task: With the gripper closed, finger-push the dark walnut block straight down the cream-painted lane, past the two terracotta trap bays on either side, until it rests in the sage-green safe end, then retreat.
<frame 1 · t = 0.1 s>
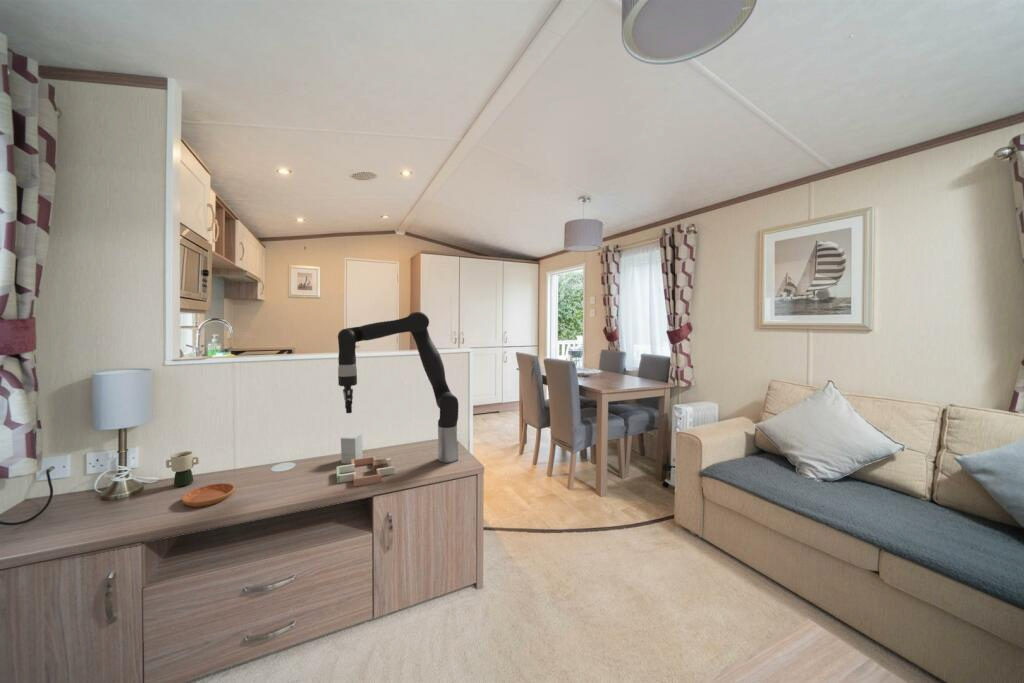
hand: (348, 410, 169), 29 cm above the table, fingers open, 8 cm apart
character mug: (183, 484, 160), on the table
corral: (366, 473, 173), on the table
supplement box: (352, 461, 187), on the table
saucer: (209, 499, 148), on the table
walnut block: (380, 471, 175), on the table
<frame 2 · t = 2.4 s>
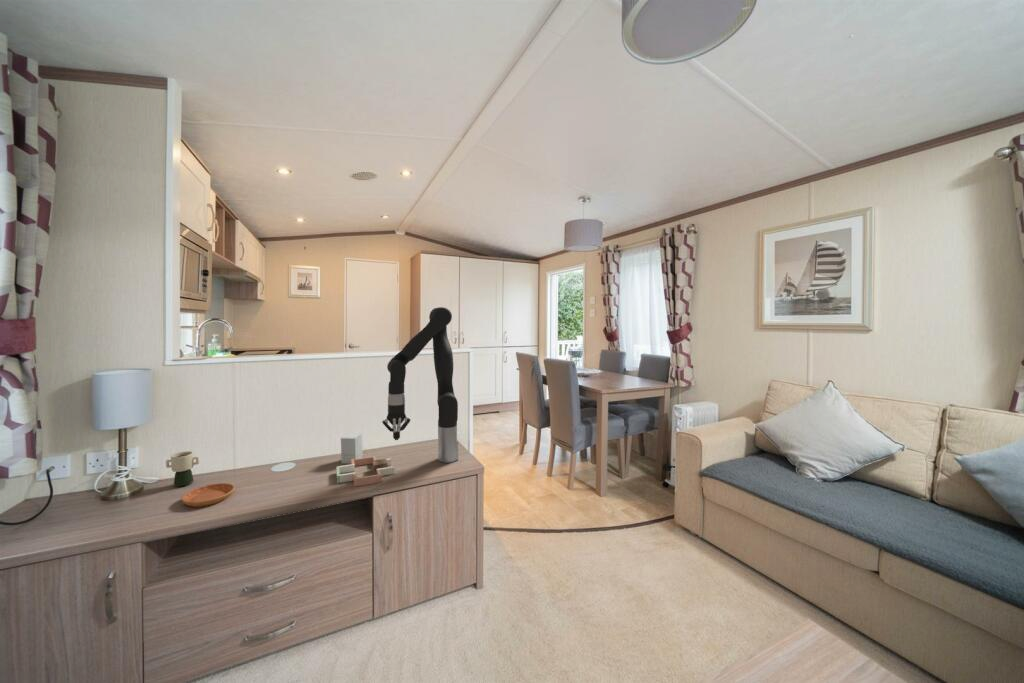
hand: (396, 439, 178), 14 cm above the table, fingers closed
nothing on the table moved.
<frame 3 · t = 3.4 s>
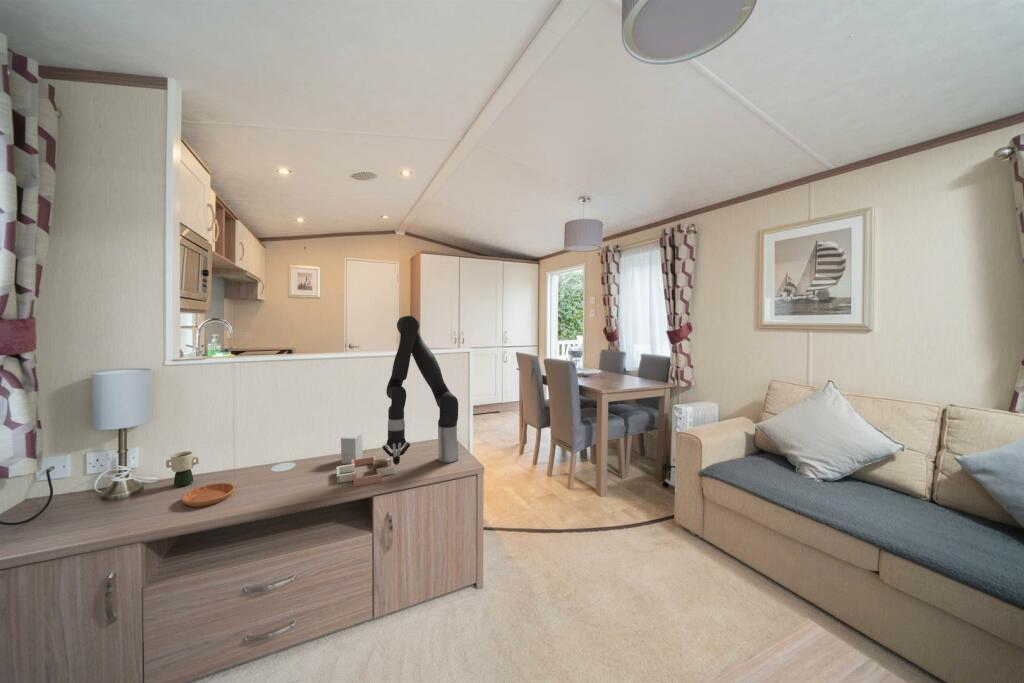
hand: (396, 464, 178), 2 cm above the table, fingers closed
nothing on the table moved.
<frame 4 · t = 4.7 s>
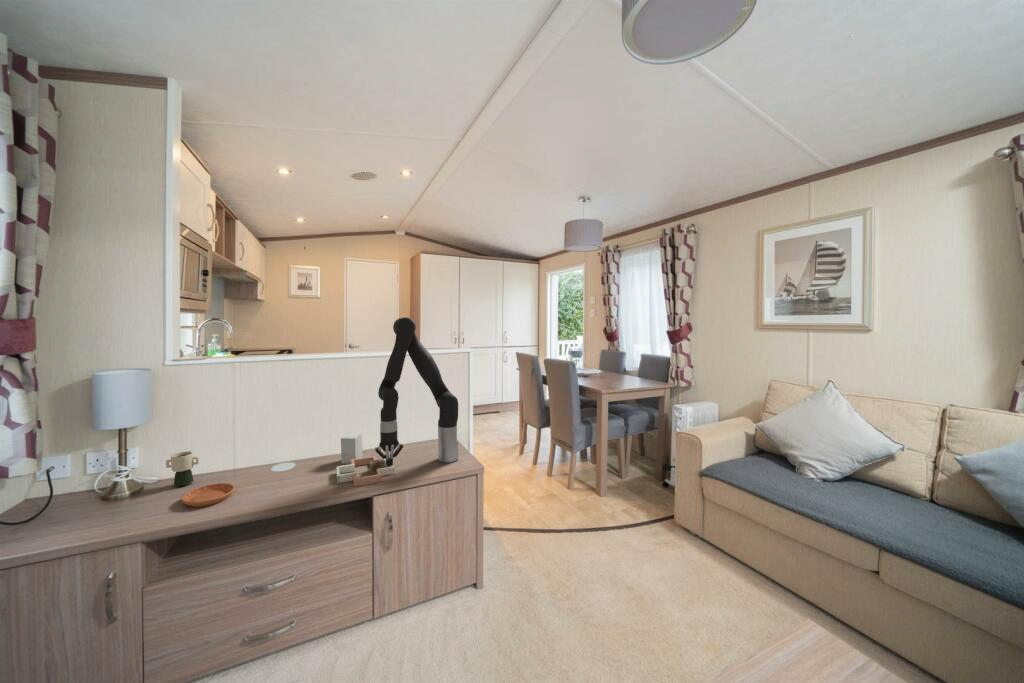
hand: (389, 466, 177), 2 cm above the table, fingers closed
walnut block: (377, 471, 175), on the table
everything else where it was.
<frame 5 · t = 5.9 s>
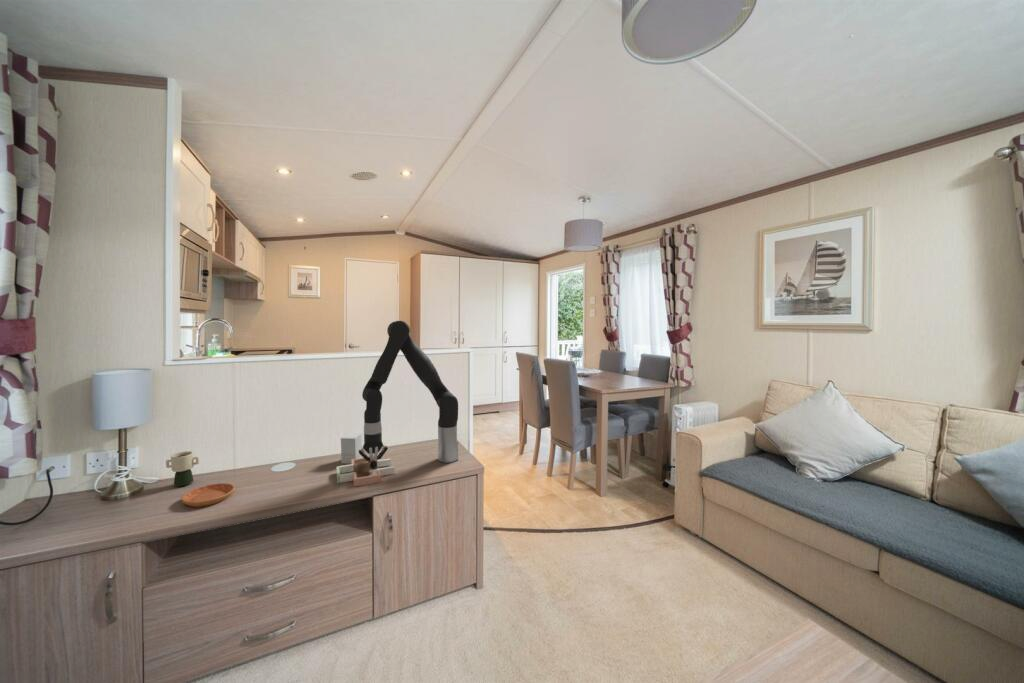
hand: (373, 468, 174), 2 cm above the table, fingers closed
walnut block: (361, 474, 172), on the table, touching gripper
everything else where it was.
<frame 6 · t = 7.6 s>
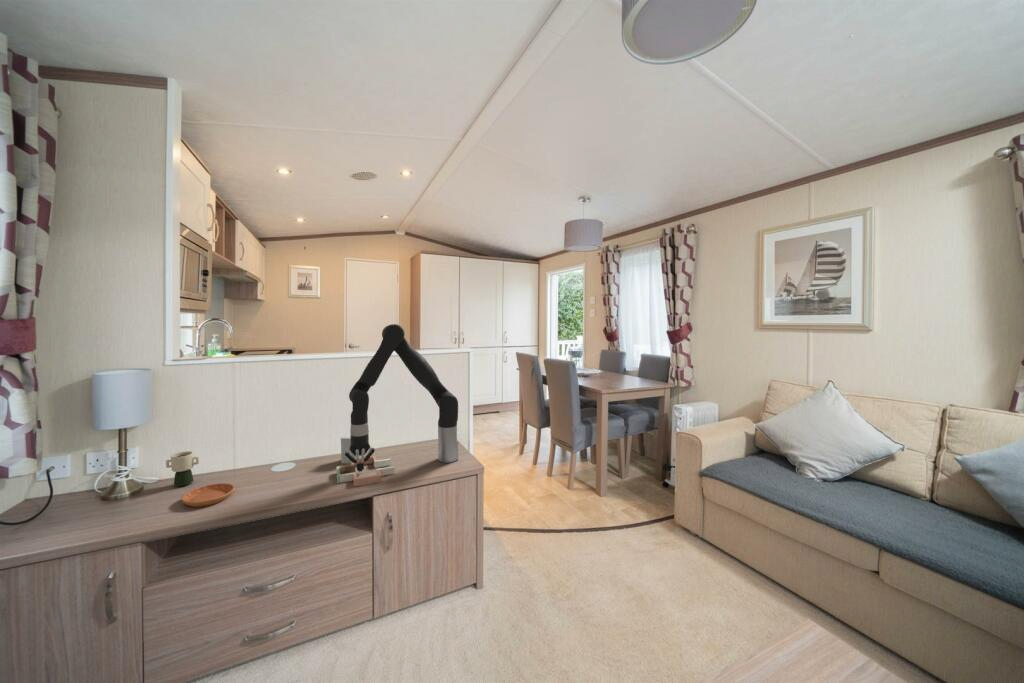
hand: (360, 470, 172), 2 cm above the table, fingers closed
walnut block: (347, 476, 169), on the table
everything else where it was.
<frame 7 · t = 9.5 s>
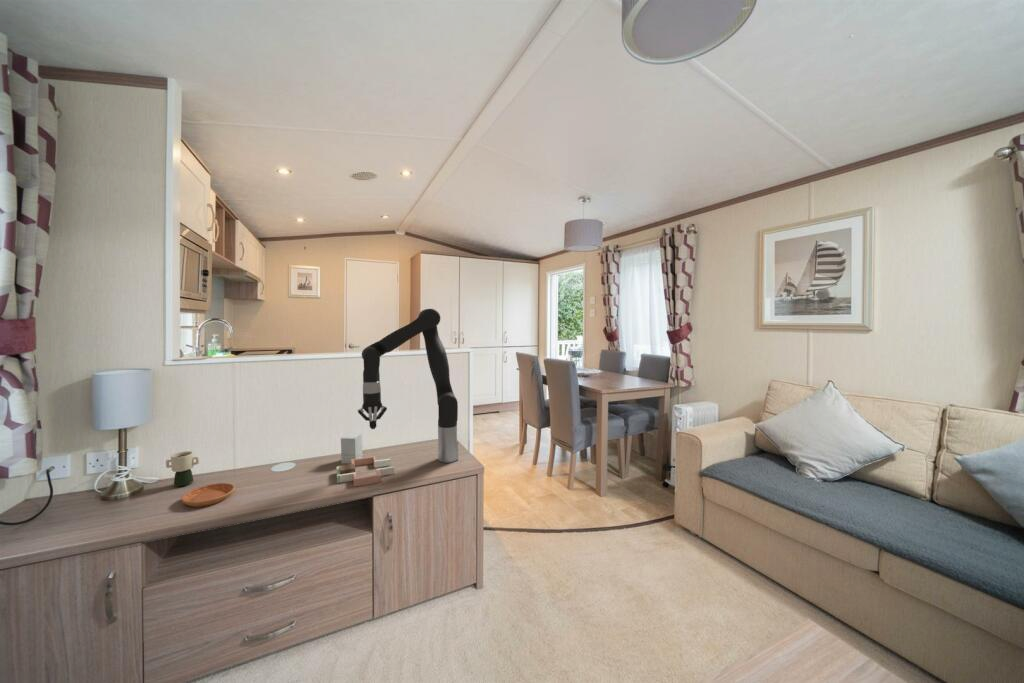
hand: (373, 428, 174), 20 cm above the table, fingers closed
nothing on the table moved.
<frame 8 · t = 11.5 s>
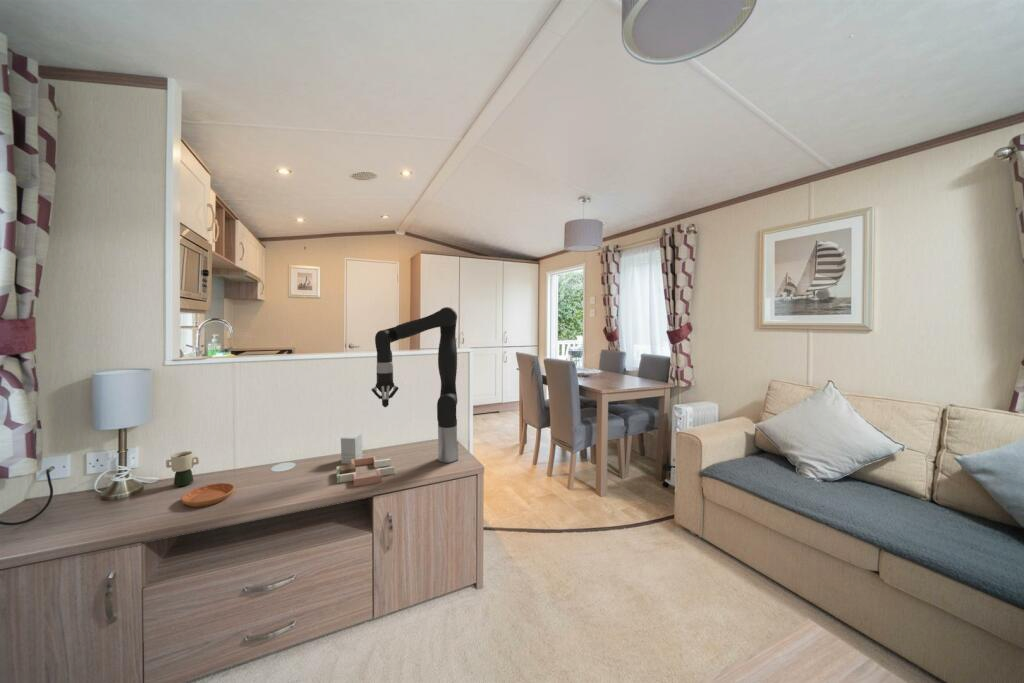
hand: (385, 406, 185), 27 cm above the table, fingers closed
nothing on the table moved.
at the end: walnut block inside the target area (0.3 cm from its centre), on the table; walnut block tilted 0°; the gripper is holding nothing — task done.
